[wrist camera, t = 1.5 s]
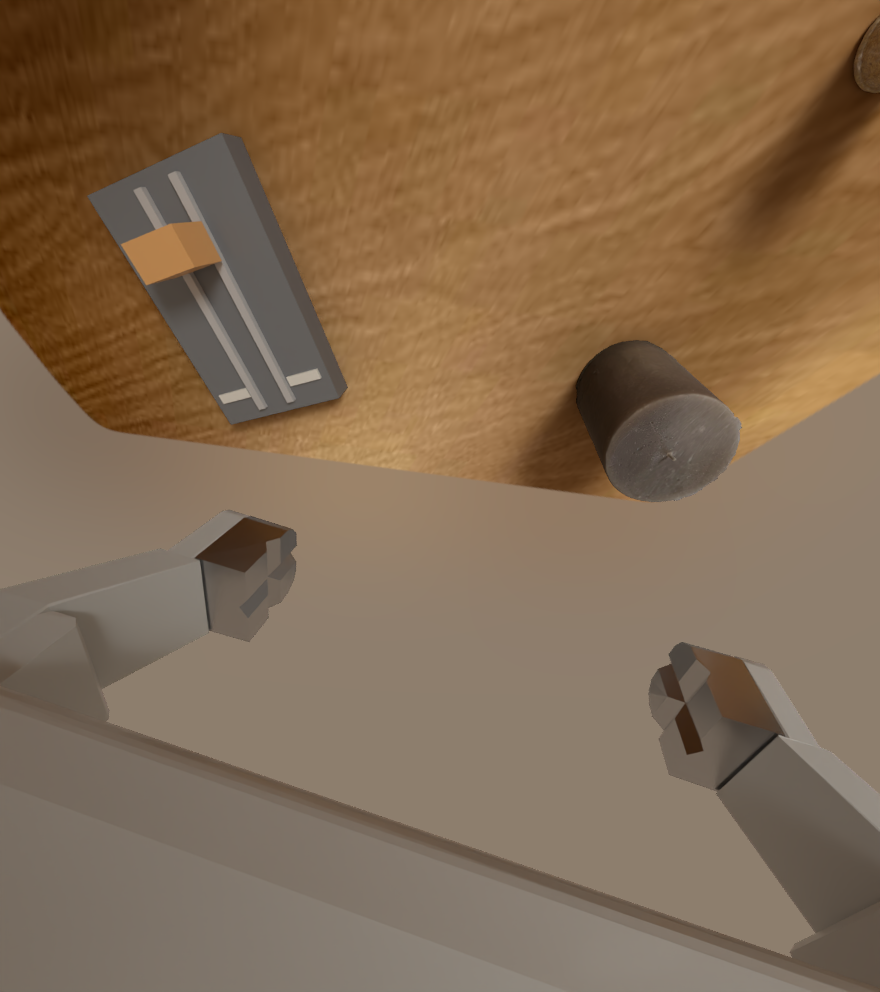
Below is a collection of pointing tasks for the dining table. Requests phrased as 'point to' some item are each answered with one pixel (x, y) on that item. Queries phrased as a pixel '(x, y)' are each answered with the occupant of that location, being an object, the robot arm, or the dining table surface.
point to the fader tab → (171, 251)
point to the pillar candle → (654, 423)
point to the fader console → (229, 281)
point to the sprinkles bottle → (869, 60)
